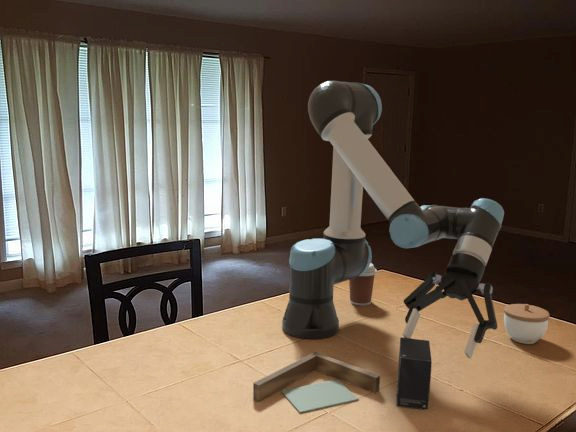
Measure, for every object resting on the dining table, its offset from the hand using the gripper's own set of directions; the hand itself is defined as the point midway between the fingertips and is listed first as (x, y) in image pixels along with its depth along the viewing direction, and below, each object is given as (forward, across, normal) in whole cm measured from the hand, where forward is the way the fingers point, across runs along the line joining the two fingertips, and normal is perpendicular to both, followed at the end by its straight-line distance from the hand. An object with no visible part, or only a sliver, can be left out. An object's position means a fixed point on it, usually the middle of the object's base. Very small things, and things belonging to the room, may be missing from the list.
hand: (435, 346), depth 114 cm
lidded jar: (-21, -6, -36) cm, 42 cm away
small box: (+11, +2, -3) cm, 11 cm away
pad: (+19, +16, +6) cm, 26 cm away
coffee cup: (-19, +42, -33) cm, 56 cm away
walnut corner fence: (+19, +17, +6) cm, 26 cm away
